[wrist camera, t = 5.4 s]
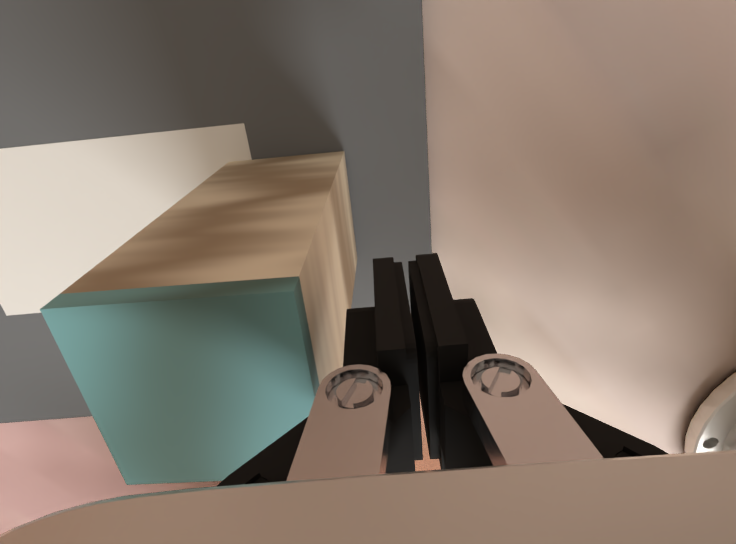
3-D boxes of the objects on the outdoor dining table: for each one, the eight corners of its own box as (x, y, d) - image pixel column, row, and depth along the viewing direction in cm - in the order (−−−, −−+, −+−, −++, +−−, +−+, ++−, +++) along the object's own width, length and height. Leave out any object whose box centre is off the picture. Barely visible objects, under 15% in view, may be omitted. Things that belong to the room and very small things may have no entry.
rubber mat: (415, -110, 16) (417, -116, 15) (435, 382, 26) (437, 390, 25) (-280, -23, 17) (-302, -25, 16) (-6, 416, 27) (-14, 424, 26)
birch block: (344, 150, 19) (293, 290, 8) (357, 258, 21) (330, 476, 11) (228, 161, 19) (39, 309, 9) (253, 266, 22) (126, 484, 11)
